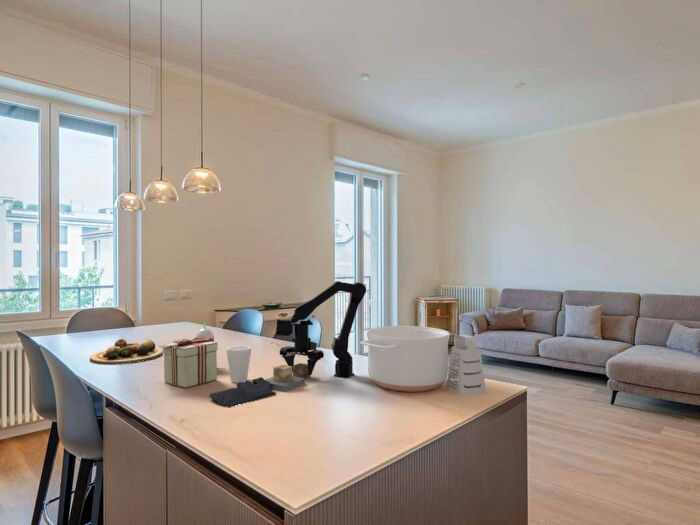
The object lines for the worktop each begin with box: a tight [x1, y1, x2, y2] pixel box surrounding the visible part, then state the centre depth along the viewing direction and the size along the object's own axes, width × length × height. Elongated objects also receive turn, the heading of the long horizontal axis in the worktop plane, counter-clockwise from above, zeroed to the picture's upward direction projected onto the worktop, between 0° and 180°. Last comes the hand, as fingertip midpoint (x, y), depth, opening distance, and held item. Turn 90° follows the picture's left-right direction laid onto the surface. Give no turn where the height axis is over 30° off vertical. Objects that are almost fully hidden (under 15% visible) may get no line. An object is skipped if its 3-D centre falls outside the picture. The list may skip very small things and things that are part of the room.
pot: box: [359, 325, 451, 393], centre depth 168 cm, size 42×32×20 cm
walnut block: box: [292, 362, 311, 379], centre depth 177 cm, size 5×5×5 cm
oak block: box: [272, 364, 293, 382], centre depth 166 cm, size 5×5×5 cm
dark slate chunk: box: [208, 376, 277, 408], centre depth 152 cm, size 15×22×5 cm
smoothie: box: [194, 322, 215, 342], centre depth 193 cm, size 8×8×20 cm
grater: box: [445, 334, 487, 396], centre depth 160 cm, size 10×10×20 cm
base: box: [265, 375, 306, 393], centre depth 166 cm, size 12×12×2 cm
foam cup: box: [226, 345, 252, 383], centre depth 172 cm, size 10×9×13 cm
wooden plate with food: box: [89, 338, 164, 365], centre depth 214 cm, size 32×32×8 cm
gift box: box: [158, 336, 219, 389], centre depth 171 cm, size 17×18×17 cm
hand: (301, 373), depth 177 cm, fingers open, 9 cm apart
